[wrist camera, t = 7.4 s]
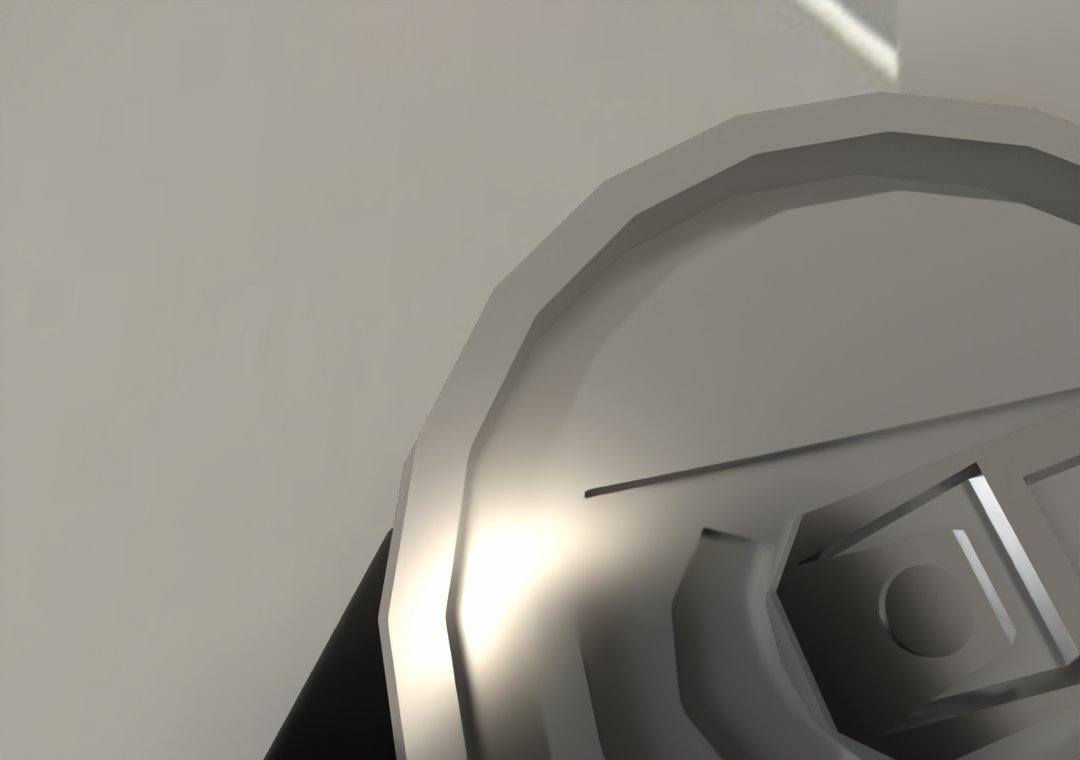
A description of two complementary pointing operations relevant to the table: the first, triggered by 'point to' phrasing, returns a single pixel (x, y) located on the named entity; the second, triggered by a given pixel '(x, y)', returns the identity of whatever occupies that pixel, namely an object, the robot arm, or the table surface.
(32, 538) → the table surface
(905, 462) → the green metal cylinder
